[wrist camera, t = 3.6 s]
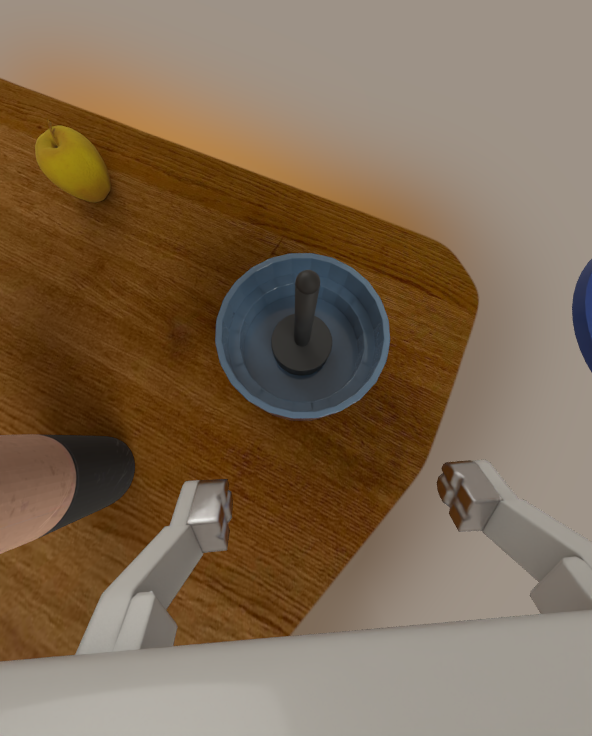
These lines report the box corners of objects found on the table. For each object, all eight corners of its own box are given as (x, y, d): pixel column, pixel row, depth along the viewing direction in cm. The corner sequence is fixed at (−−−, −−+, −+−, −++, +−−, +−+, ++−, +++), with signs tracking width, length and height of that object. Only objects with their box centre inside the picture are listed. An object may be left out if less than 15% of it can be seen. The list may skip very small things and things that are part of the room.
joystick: (334, 328, 32) (370, 243, 18) (322, 381, 31) (349, 337, 16) (280, 315, 33) (271, 220, 18) (266, 367, 31) (242, 311, 17)
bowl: (382, 303, 34) (402, 274, 28) (355, 437, 30) (371, 439, 24) (253, 272, 35) (244, 237, 28) (212, 400, 31) (191, 392, 25)
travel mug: (94, 528, 28) (-351, 746, 9) (48, 473, 29) (-442, 557, 10) (153, 469, 29) (-119, 543, 10) (106, 418, 31) (-222, 396, 11)
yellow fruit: (106, 165, 38) (58, 96, 30) (131, 197, 37) (88, 134, 29) (63, 189, 37) (2, 125, 29) (87, 223, 36) (30, 165, 28)
